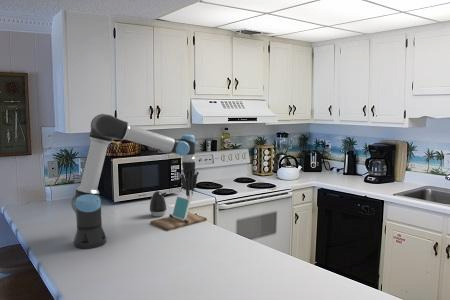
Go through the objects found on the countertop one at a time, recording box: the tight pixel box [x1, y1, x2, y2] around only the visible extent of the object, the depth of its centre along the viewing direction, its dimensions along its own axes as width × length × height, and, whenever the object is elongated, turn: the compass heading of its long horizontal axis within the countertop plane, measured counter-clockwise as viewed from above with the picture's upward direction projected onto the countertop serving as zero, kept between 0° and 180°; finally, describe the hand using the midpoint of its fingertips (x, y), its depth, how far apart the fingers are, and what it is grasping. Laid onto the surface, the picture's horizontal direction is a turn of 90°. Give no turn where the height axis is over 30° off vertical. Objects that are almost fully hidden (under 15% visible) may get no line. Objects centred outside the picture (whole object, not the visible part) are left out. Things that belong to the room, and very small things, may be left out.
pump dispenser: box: [149, 190, 167, 218], centre depth 242 cm, size 10×10×15 cm
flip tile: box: [171, 195, 192, 220], centre depth 229 cm, size 12×12×1 cm
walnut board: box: [150, 211, 208, 232], centre depth 228 cm, size 27×18×3 cm, turn 132°
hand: (189, 200), depth 233 cm, fingers closed
